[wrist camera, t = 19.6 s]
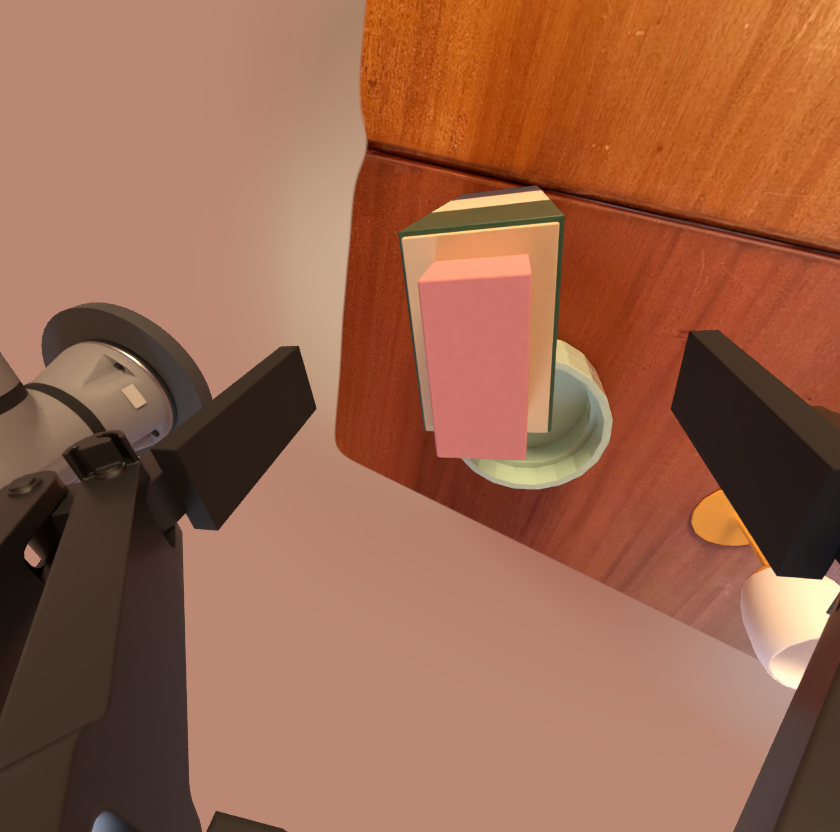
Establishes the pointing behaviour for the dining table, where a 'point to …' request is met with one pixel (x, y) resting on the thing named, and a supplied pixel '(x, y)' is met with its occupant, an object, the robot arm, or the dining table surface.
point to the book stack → (486, 214)
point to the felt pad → (543, 262)
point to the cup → (770, 598)
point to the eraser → (478, 354)
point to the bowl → (560, 431)
